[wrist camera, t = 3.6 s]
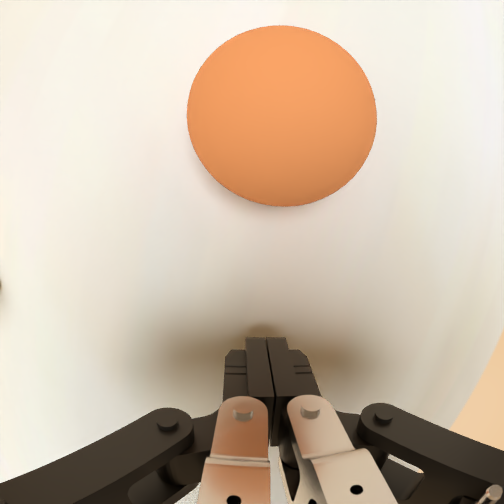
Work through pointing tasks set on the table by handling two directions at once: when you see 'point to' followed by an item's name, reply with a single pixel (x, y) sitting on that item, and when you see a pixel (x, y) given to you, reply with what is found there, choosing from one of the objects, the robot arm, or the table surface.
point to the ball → (281, 116)
